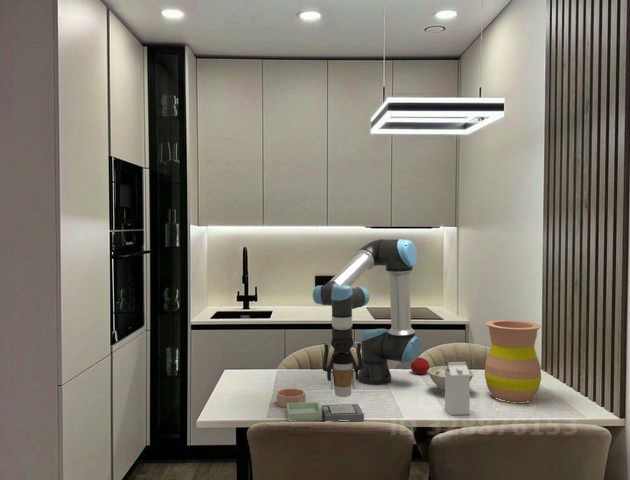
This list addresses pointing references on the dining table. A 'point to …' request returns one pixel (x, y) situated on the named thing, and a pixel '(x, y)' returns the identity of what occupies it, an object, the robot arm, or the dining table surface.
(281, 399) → the bin
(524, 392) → the vase
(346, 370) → the coffee cup
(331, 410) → the plate
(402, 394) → the dining table surface
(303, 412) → the green square tray
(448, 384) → the milk carton
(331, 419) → the frame
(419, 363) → the tomato
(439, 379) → the bowl
